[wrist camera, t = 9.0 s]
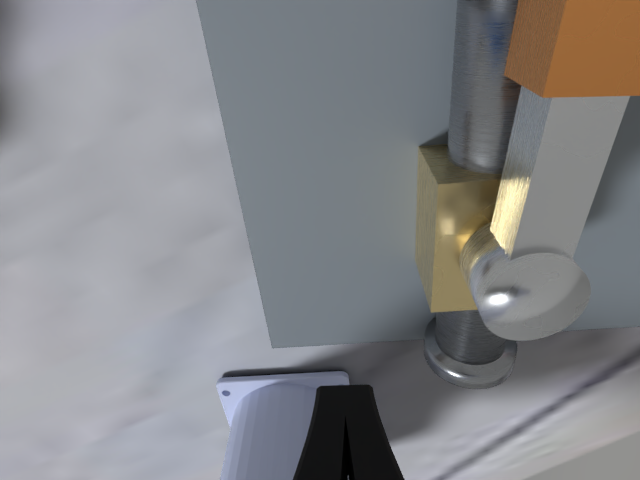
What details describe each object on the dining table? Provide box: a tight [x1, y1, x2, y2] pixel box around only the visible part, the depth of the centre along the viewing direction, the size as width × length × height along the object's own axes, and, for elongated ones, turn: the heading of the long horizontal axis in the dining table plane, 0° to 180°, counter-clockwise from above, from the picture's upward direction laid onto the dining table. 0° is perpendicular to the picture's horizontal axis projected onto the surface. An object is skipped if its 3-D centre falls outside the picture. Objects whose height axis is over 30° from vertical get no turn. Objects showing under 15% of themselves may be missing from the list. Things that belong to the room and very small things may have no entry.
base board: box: [196, 0, 640, 348], centre depth 18 cm, size 18×20×1 cm
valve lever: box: [459, 0, 640, 341], centre depth 12 cm, size 12×3×2 cm, turn 1°
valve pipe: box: [415, 0, 522, 389], centre depth 17 cm, size 18×5×4 cm, turn 5°
